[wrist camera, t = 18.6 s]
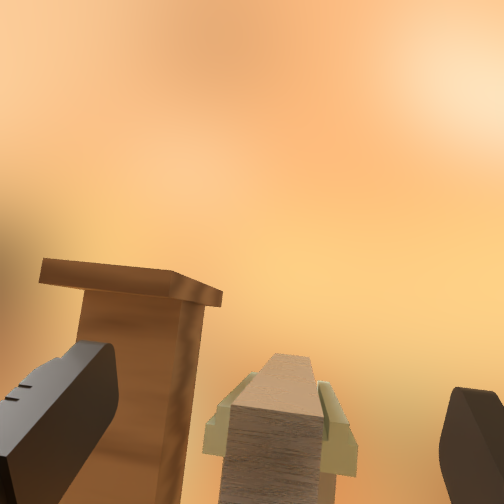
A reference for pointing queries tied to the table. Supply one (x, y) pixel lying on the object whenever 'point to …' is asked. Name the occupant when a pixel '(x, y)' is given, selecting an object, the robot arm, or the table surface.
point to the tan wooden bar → (275, 437)
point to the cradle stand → (333, 440)
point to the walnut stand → (139, 376)
